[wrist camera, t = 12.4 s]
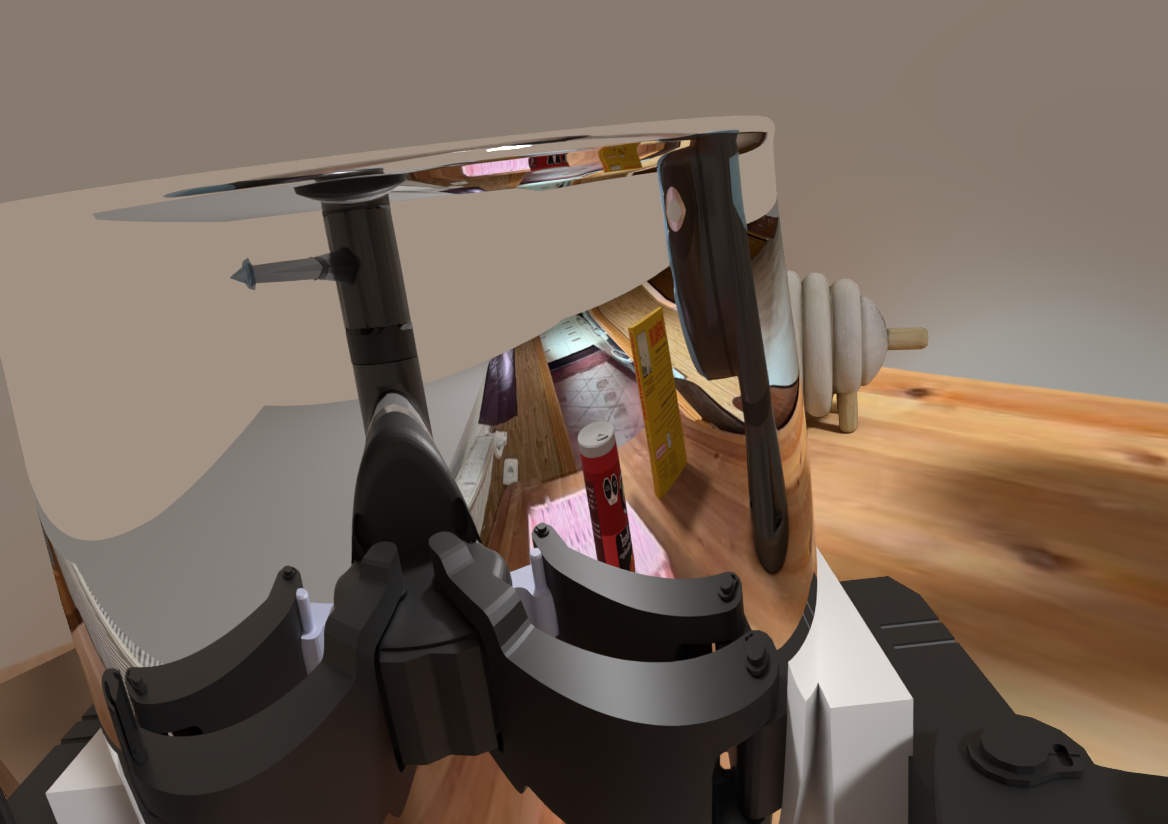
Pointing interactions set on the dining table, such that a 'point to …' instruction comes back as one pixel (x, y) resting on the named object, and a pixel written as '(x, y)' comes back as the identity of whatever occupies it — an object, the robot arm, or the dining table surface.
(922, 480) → the dining table surface
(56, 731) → the pocket board
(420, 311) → the silver tumbler
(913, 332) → the toy sheep
